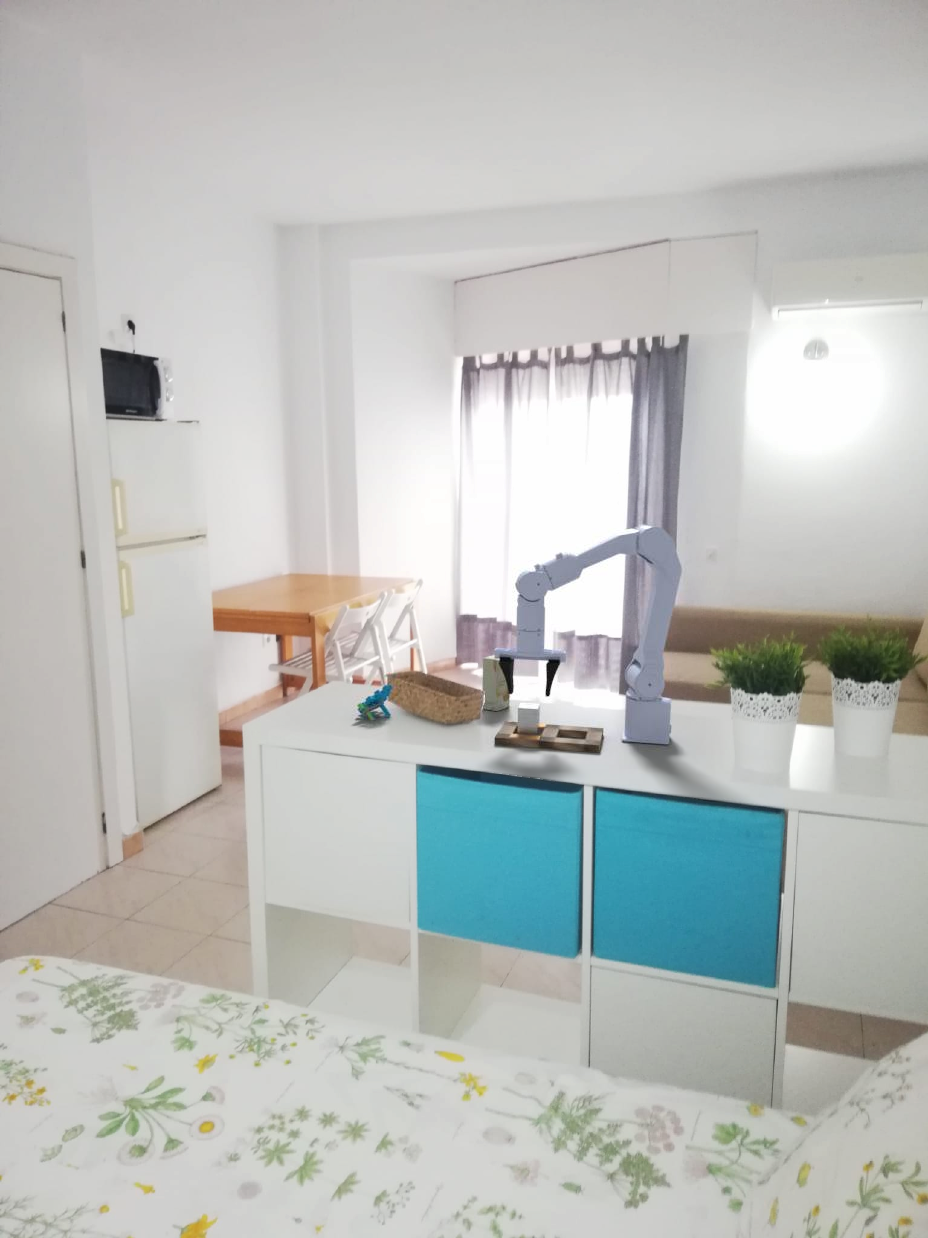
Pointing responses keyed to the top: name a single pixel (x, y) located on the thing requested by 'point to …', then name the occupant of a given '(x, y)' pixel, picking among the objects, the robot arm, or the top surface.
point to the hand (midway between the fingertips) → (529, 694)
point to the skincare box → (494, 685)
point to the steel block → (528, 719)
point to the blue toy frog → (375, 702)
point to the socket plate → (552, 737)
